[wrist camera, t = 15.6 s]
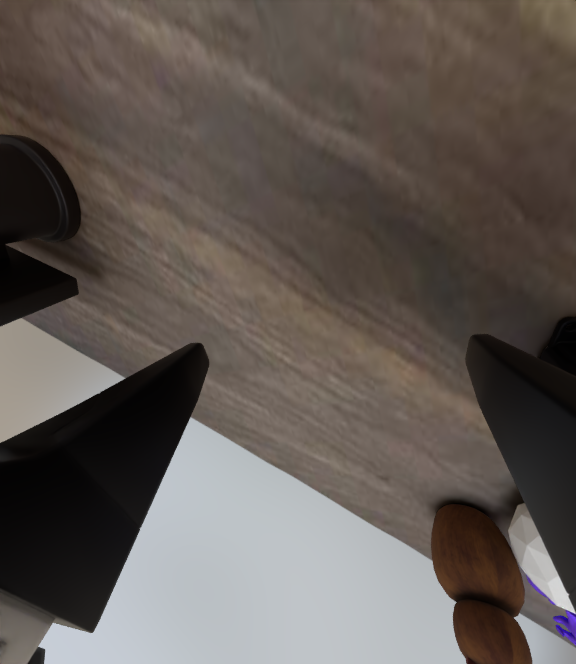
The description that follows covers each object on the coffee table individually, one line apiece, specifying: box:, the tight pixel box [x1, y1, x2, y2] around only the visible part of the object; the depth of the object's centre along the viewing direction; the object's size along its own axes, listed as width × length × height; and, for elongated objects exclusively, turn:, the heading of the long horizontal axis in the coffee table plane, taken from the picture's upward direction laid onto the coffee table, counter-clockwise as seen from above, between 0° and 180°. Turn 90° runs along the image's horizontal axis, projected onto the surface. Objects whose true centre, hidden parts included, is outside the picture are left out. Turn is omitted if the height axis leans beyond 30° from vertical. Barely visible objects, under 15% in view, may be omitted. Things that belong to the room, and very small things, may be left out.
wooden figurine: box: [431, 504, 532, 664], centre depth 23 cm, size 7×6×15 cm
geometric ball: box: [508, 503, 576, 614], centre depth 22 cm, size 8×8×8 cm
